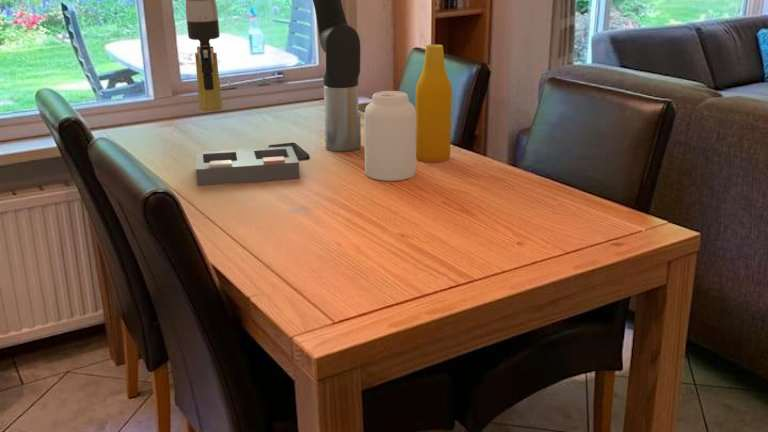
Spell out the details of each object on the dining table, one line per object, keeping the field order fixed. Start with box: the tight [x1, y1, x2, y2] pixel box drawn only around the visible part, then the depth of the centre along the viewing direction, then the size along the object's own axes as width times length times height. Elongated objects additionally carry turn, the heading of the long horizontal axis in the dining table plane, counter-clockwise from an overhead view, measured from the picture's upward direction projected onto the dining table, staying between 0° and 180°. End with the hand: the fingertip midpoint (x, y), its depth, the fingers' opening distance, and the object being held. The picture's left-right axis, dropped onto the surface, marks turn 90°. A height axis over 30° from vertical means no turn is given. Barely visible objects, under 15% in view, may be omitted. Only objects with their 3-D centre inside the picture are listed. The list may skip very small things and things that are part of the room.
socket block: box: [195, 146, 301, 187], centre depth 188 cm, size 24×15×5 cm, turn 103°
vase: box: [194, 50, 224, 112], centre depth 192 cm, size 6×6×14 cm
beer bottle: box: [415, 44, 453, 164], centre depth 195 cm, size 9×9×29 cm
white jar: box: [363, 90, 417, 182], centre depth 184 cm, size 12×12×20 cm
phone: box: [267, 142, 311, 161], centre depth 205 cm, size 8×1×15 cm
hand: (209, 87), depth 193 cm, fingers closed on vase, 5 cm apart
